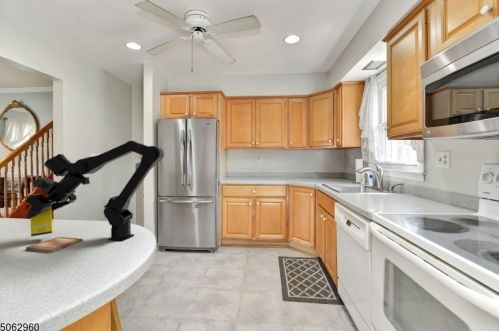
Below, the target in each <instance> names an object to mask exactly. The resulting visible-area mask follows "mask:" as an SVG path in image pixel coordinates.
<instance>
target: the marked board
mask: <svg viewBox="0 0 499 331" xmlns="http://www.w3.org/2000/svg"><path fill="white" fill-rule="evenodd" d="M83 242H84V238H78V237H66V236H57V237H54V238H51V239H47V240H44V241H41V242H38V243H35V244H32V245H29V246H26V247H25V251H29V252H31V251H32V252H38V253H39V252H40V253H49V254H53V253H56V252H59V251H61V250H64V249H67V248H69V247H72V246H75V245H77V244H80V243H83Z"/></svg>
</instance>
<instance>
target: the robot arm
mask: <svg viewBox="0 0 499 331" xmlns="http://www.w3.org/2000/svg"><path fill="white" fill-rule="evenodd" d="M131 153H136V154H137V155H140V156H141V158H140V162H139V165H138V166H137V167H136V170H135V171H134V172H133V174H132V175H131V177H130V178H129V180H128V181H127V183H126V184H125V186H124V187H123V189H122V190H121V191H120V194H118V195H115V196H112V197H109V200H108V202H107V203H106V204H105V205H104V206H103V208H104V209H103V215H104V217H105V218H106V219H107V221H108V224H109V225H110V226H111V228H110V232H111V233H110V237H108V238H107V239H108V240H110V241H111V240H112V241H121V242H123V241H125V240H127V239H130V238H132V237H134V236H135V234H134V233H132V232H131V225H132V224H131V220H132V219H133V216H134V214H133V212H132V211H130V210H129V207H130V203H131V199H132V198H133V196H134V194H135V193H136V192H137V190H138V189H139V187H140V186H141V184H142V183H143V182H144V181H145V178H146V176H148V174H149V173H150V171H151V170H152V169H153V168H154V167H156V165H158V164H159V162H161V160H163V158H164V156H165V152H164V150H163V149H162V148H161V147H159V146H155V145H149V146H148V145H145V144H144V143H140V142H138V141H135V140H128V141H127V142H125V143H123V144H120V145H119V146H116V147H113V148H112V149H109V150H107V151H105V152H102V153H100V154H97V155H94V156H92V155H91V156H89V157H88V156H87V157H85V158H80V159H77V160H76V161H75V162H71V161H70V160H69V159H68V158H67V157H66V156H65V155H64V154H63V153H58V154H56V155H55V156H52V157H51V158H49V159H47V160H45V162H44V164H43V166H44V167H45V168H46V169H47V170H49V172H51V173H52V174H53V175H54V176H56V177H62V178H61V179H60V180H59V181H56V180H53V179H51V178H48V177H38V178H36V179H34V180H33V181H32V185H33V187H34V188H36V189H40V190H42V191H43V193H44V194H45V195H47V197H45V195H43V194H42V193H35V194H29V195H28V196H27V197H26V198H25V199H24V201H25V202H26V203H27V204H28V205H31V207H30V206H29V210H28V213H27V215H26V218H27V219H28V220H30V218H32V217H35V216H37V215H39V214H41V213H43V212H45V211H47V209H48V208H49V207H50V206H51V207H52V212H54V211H57V210H58V209H61V208H64V207H65V206H67V205H70V204H73V203H75V201H76V200H77V195H76V194H75V192H76V189H78V187H79V186H80V185H83V186H84V185H90V184H91V183H90V182H91V181H90V177H89V176H86V175H92V174H95V173H97V172H98V171H101V169H103V168H104V166H106V165H107V164H109V163H111V162H114V161H115V160H116V161H117V160H119V159H120V158H123V157H125V156H127V155H129V154H131Z"/></svg>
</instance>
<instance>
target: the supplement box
mask: <svg viewBox="0 0 499 331" xmlns="http://www.w3.org/2000/svg"><path fill="white" fill-rule="evenodd" d="M29 205H30V204H29ZM30 207H31V205H30V206H29V208H30ZM52 212H53V211H52V207H51V206H50V207H49V208H48V209H47V211H45V212H43V213H41V214H39V215H37V216H35V217H32V218H30V219H29V220H30V237H37V236H43V235H48V234H49V235H50V234H52V233H53V218H52V217H53V216H52V215H53V214H52Z"/></svg>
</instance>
